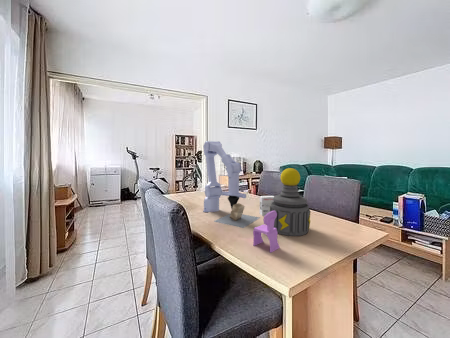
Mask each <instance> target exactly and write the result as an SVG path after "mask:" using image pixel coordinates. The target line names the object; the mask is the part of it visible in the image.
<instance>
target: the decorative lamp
mask: <svg viewBox="0 0 450 338" xmlns="http://www.w3.org/2000/svg"><path fill="white" fill-rule="evenodd" d="M300 180H301V175H300V172H299V171H298V170H297V169H296V168H291V167H290V168H289V167H288V168H285V169H284V170H282V172H281V174H280V181H281V183H282V188H281V192H280V194H276V195H273V196H274V197H273V201H274V202H272V203H271V206H270V212H271V211H276V213H277V217H276V218H275V221H274V228H277V235H278V234H279V235H282V236H287V237H301V236H305V235H307V233H308V232H309V231H310V226H311V210H310V208H309V207H310V205H308V200H307V198H306V197H304V196H302V195H300V193H299V189H298V185H299V183H300Z"/></svg>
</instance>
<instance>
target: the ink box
mask: <svg viewBox="0 0 450 338" xmlns="http://www.w3.org/2000/svg"><path fill="white" fill-rule="evenodd" d="M274 196H275V195H261V196H259V215H260V216H262V217H264V216H265V215H266V214H267V213H269V212H270V206H271V203H272V202H274V201H273V197H274Z"/></svg>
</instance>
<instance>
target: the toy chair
mask: <svg viewBox="0 0 450 338" xmlns="http://www.w3.org/2000/svg"><path fill="white" fill-rule="evenodd" d="M276 217H277V213H276V211H271V212H269V213H267V214H266V215H265V216H263V224H261V225H259V226H254V228H253V230H252V233H253V242H252V243H253V244H252V245H253V247H254V246H257V245H259V244H261V243H264V240H263V236H262V234H264V235H266V237H267V239H268V241H269V253H273V252H275V251H277V250H278V249H280V245H279V241H278V233H277V228H274V221H275V218H276Z"/></svg>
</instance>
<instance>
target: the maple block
mask: <svg viewBox="0 0 450 338" xmlns="http://www.w3.org/2000/svg"><path fill="white" fill-rule="evenodd" d="M245 207H246V206H245V205H244V204H242V203H239V202H237V204H235V205H233V207H232V209H231V211H230V213H229V214H230V217H229V218H231V219H233V220H235V221H236V220H238V219H240V218H241V217H242V214H244V210H245Z"/></svg>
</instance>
